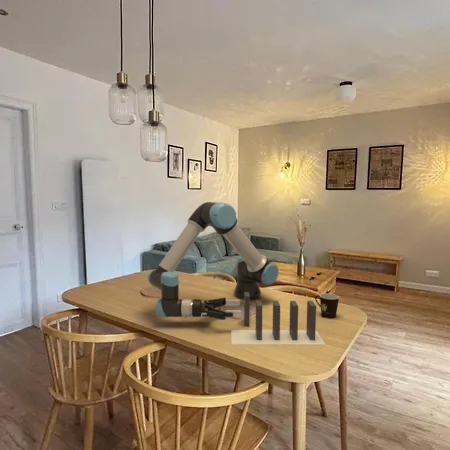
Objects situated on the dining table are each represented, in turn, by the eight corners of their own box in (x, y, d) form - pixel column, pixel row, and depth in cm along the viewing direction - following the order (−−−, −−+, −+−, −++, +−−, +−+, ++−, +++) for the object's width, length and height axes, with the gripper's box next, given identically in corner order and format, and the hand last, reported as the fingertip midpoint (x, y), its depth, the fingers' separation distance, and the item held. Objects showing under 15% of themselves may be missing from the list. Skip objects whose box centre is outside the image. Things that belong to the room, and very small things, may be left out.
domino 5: (310, 340, 128) (311, 305, 127) (306, 333, 134) (307, 300, 133) (315, 340, 128) (316, 305, 127) (311, 333, 134) (312, 300, 133)
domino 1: (244, 327, 141) (245, 296, 140) (244, 322, 147) (244, 292, 146) (249, 327, 141) (249, 296, 140) (248, 322, 147) (248, 292, 146)
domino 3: (274, 340, 128) (275, 305, 127) (272, 333, 134) (273, 300, 133) (279, 340, 128) (280, 305, 127) (277, 333, 134) (277, 300, 133)
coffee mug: (341, 319, 150) (342, 298, 149) (324, 321, 149) (324, 299, 148) (329, 310, 162) (330, 291, 161) (313, 311, 160) (313, 292, 159)
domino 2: (256, 340, 128) (257, 305, 127) (255, 333, 134) (255, 300, 133) (261, 340, 128) (262, 305, 127) (260, 333, 134) (260, 300, 133)
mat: (231, 331, 138) (231, 329, 138) (316, 331, 138) (316, 330, 138) (231, 345, 125) (231, 344, 125) (325, 345, 125) (325, 344, 125)
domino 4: (292, 340, 128) (293, 305, 127) (289, 333, 134) (290, 300, 133) (297, 340, 128) (298, 305, 127) (294, 333, 134) (295, 300, 133)
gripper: (195, 306, 156) (239, 306, 156) (188, 328, 131) (241, 328, 131) (195, 291, 155) (239, 291, 155) (188, 309, 131) (241, 310, 130)
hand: (240, 308), depth 143 cm, fingers open, 13 cm apart
